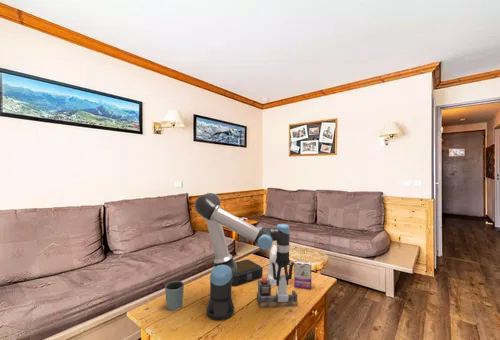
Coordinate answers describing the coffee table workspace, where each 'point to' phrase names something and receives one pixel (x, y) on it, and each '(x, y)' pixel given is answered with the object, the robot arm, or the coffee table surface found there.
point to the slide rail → (276, 301)
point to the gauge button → (264, 279)
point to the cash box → (247, 272)
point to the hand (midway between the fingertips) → (282, 290)
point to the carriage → (282, 290)
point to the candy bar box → (302, 274)
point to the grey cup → (174, 295)
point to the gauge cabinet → (264, 288)
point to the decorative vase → (270, 267)
